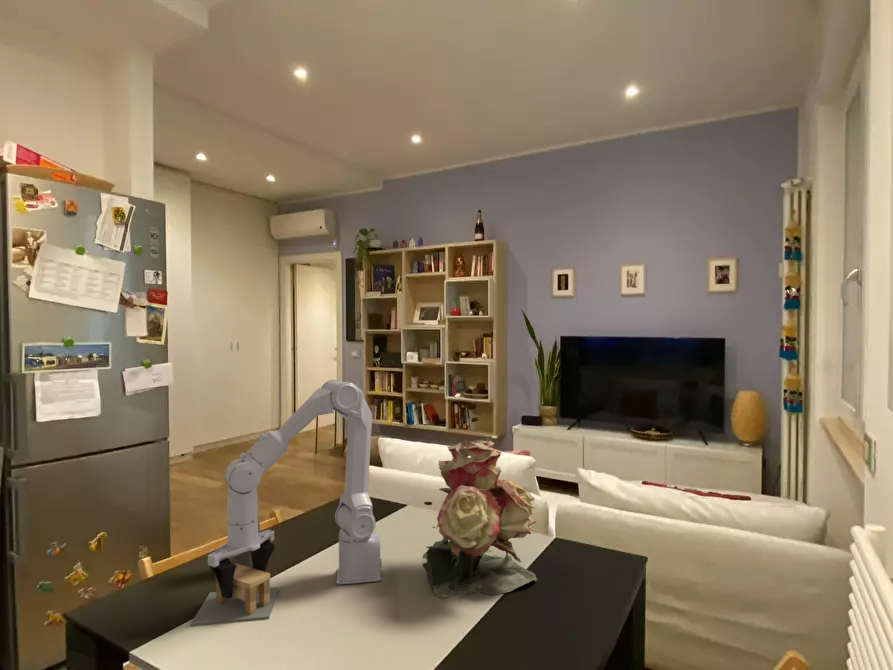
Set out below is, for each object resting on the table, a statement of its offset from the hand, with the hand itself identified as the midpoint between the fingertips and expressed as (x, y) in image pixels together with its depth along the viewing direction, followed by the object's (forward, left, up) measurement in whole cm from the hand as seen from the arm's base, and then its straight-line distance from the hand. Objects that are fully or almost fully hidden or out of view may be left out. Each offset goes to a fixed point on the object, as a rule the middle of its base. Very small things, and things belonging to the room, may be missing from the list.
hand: (243, 588), depth 102 cm
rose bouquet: (-50, -6, -4) cm, 51 cm away
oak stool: (0, 0, -3) cm, 3 cm away
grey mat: (+1, 0, -3) cm, 4 cm away
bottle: (+3, -17, -4) cm, 18 cm away
